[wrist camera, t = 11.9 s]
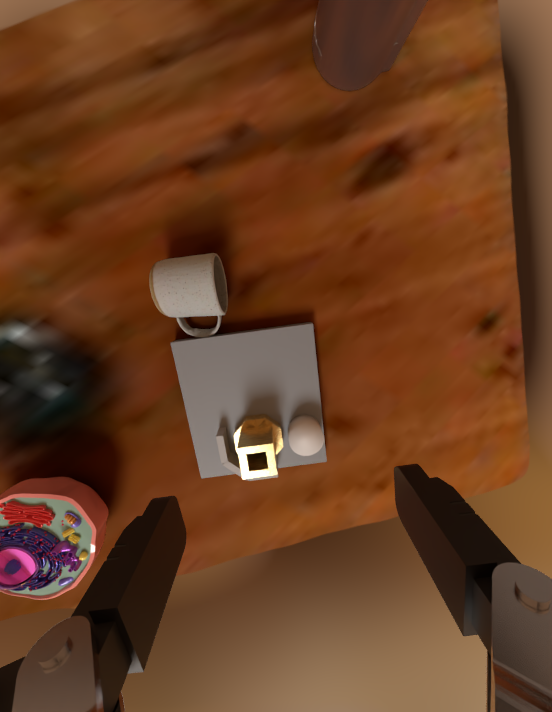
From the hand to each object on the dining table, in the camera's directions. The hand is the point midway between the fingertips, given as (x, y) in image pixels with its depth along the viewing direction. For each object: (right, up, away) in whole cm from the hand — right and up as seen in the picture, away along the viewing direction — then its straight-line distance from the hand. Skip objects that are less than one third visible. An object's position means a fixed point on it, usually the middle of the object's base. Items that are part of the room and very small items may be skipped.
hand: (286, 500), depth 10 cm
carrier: (-4, -2, +33) cm, 33 cm away
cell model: (-35, -19, +36) cm, 54 cm away
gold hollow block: (-3, -7, +32) cm, 33 cm away
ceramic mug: (-11, +14, +29) cm, 34 cm away
